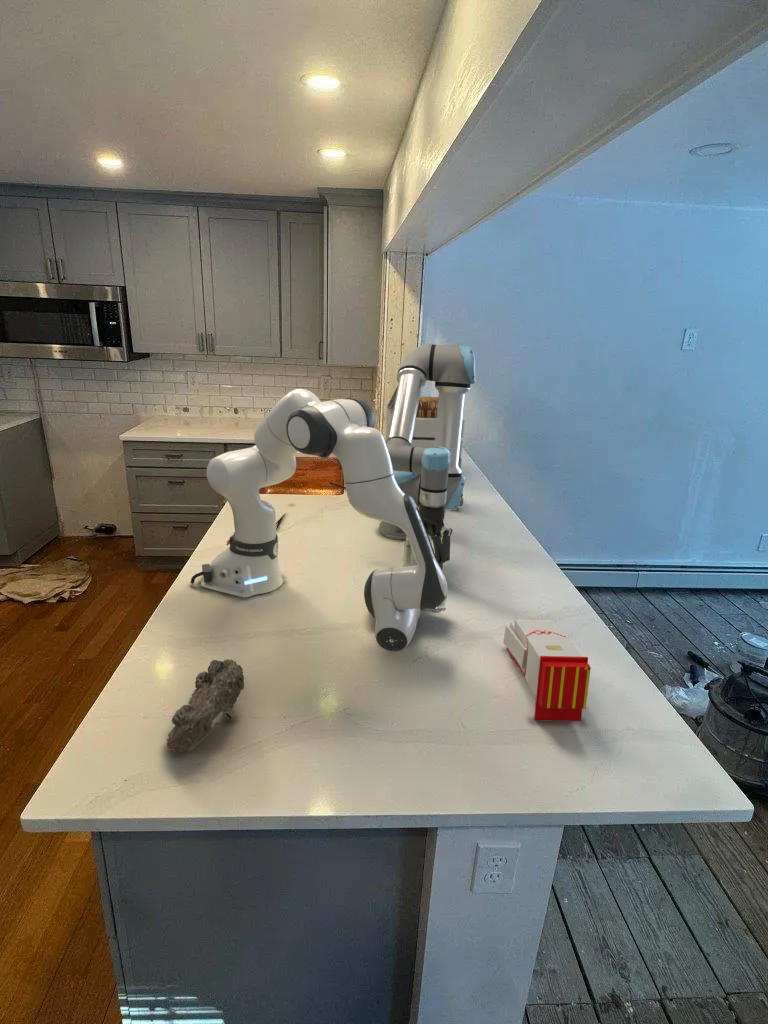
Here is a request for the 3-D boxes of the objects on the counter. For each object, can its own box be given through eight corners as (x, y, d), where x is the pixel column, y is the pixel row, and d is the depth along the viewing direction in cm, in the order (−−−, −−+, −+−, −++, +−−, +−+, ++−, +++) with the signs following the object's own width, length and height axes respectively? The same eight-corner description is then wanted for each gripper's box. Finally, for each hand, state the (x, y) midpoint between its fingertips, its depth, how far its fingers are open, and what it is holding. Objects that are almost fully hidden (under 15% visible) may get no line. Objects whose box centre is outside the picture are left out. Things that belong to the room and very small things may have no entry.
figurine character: (463, 515, 225) (458, 499, 238) (465, 497, 221) (460, 482, 235) (446, 514, 224) (442, 498, 238) (448, 497, 221) (444, 482, 235)
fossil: (192, 660, 117) (244, 628, 112) (224, 691, 120) (276, 661, 115) (142, 746, 98) (202, 712, 93) (182, 779, 101) (242, 748, 96)
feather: (292, 507, 224) (294, 503, 223) (275, 531, 197) (278, 527, 197) (288, 505, 224) (291, 501, 223) (271, 528, 197) (273, 524, 197)
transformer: (382, 463, 289) (386, 382, 275) (445, 464, 293) (451, 384, 279) (390, 482, 257) (394, 392, 243) (460, 483, 261) (468, 394, 247)
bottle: (398, 605, 152) (402, 539, 145) (404, 597, 156) (408, 533, 150) (415, 609, 150) (420, 543, 144) (421, 601, 154) (426, 536, 148)
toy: (549, 604, 136) (599, 663, 106) (544, 656, 138) (591, 727, 109) (499, 603, 135) (535, 662, 106) (495, 655, 138) (529, 726, 109)
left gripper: (446, 600, 136) (451, 575, 149) (363, 589, 140) (375, 566, 153) (444, 623, 138) (449, 597, 151) (362, 612, 142) (374, 587, 155)
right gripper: (397, 498, 163) (393, 571, 171) (452, 515, 152) (445, 592, 159) (413, 493, 169) (409, 564, 176) (468, 509, 157) (460, 584, 165)
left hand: (411, 581), depth 152 cm, fingers closed on bottle, 5 cm apart
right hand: (426, 577), depth 168 cm, fingers open, 6 cm apart
